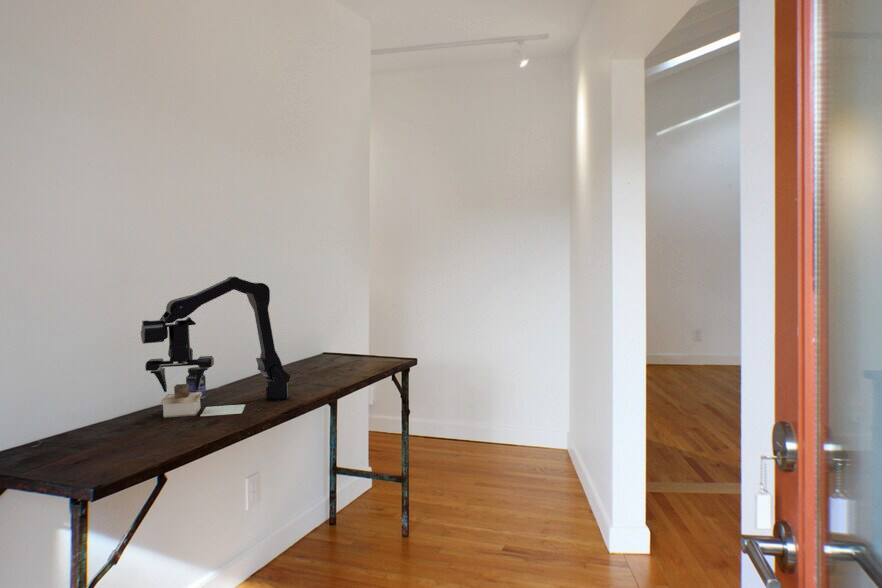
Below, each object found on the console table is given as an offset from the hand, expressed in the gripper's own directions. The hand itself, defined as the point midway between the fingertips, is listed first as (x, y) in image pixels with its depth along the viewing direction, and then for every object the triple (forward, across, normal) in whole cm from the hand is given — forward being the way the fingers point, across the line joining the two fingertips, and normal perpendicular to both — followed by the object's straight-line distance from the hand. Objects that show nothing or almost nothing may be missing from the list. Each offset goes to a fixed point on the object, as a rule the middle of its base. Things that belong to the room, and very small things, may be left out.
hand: (181, 391), depth 188 cm
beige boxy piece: (+7, 0, 0) cm, 7 cm away
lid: (+3, 0, 0) cm, 3 cm away
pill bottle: (+7, -1, -19) cm, 20 cm away
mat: (+7, -12, 0) cm, 14 cm away
